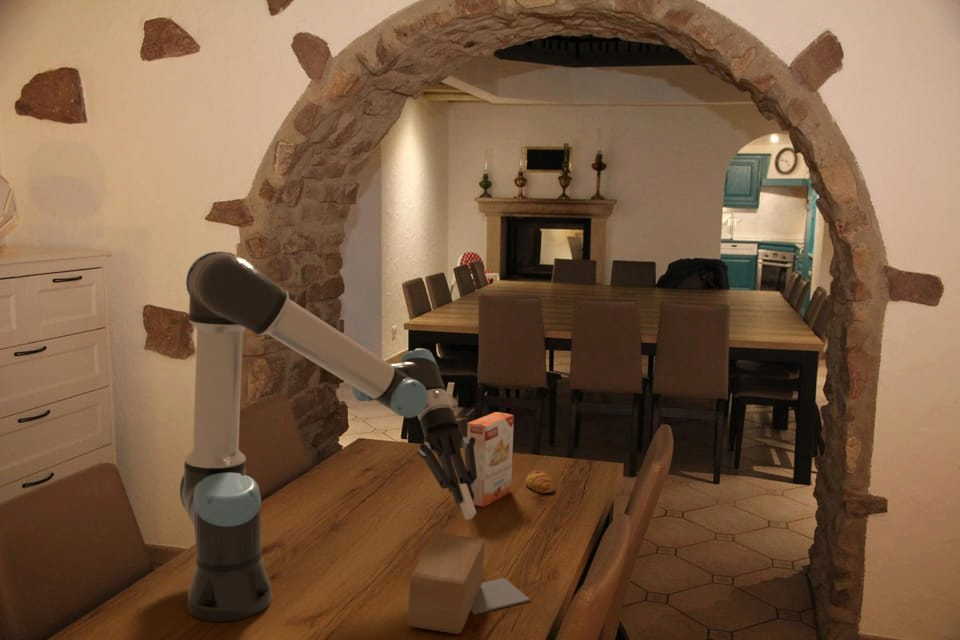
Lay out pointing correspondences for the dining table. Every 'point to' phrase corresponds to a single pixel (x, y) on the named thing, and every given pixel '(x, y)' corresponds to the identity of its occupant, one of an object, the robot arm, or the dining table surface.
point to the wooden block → (446, 583)
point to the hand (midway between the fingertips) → (470, 516)
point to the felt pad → (497, 596)
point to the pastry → (540, 482)
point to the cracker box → (492, 456)
